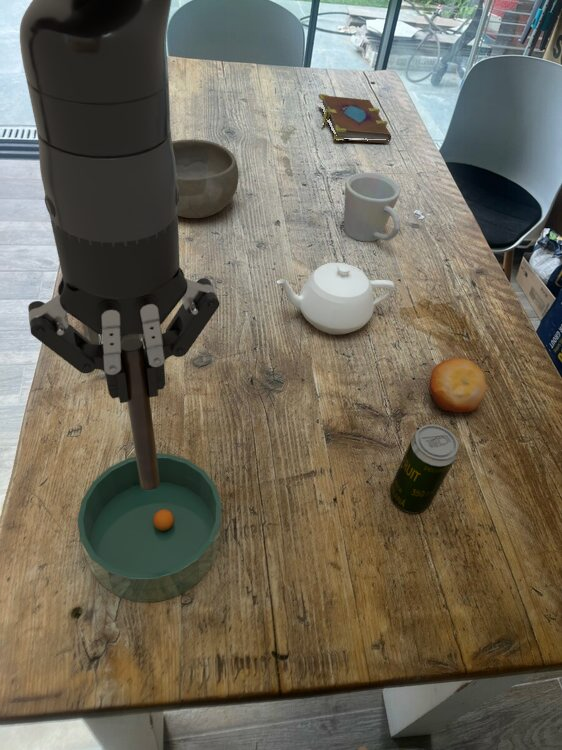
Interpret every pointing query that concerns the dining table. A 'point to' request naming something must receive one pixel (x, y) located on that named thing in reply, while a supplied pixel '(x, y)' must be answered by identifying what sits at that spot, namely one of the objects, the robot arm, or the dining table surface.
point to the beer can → (423, 468)
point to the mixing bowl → (150, 529)
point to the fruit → (457, 385)
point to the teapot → (338, 297)
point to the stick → (140, 412)
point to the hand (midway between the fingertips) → (136, 391)
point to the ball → (163, 520)
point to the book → (354, 119)
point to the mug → (370, 206)
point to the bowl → (204, 177)
